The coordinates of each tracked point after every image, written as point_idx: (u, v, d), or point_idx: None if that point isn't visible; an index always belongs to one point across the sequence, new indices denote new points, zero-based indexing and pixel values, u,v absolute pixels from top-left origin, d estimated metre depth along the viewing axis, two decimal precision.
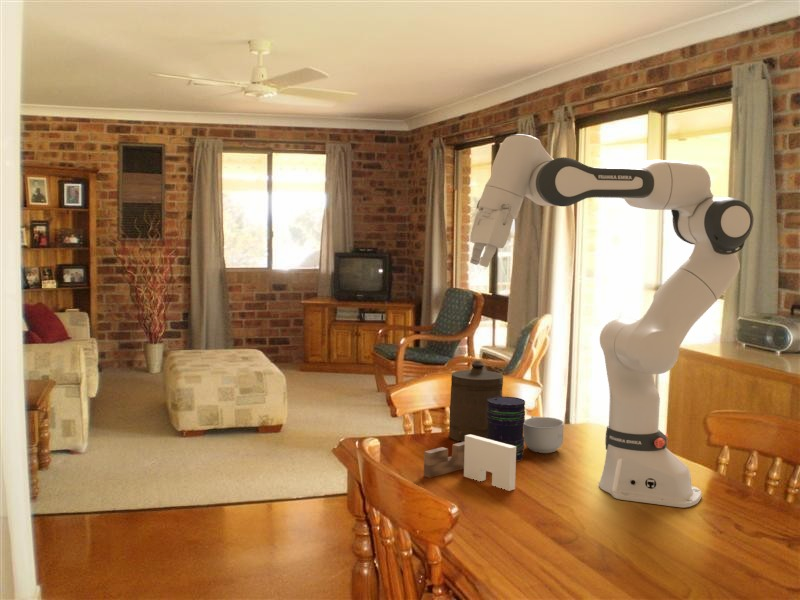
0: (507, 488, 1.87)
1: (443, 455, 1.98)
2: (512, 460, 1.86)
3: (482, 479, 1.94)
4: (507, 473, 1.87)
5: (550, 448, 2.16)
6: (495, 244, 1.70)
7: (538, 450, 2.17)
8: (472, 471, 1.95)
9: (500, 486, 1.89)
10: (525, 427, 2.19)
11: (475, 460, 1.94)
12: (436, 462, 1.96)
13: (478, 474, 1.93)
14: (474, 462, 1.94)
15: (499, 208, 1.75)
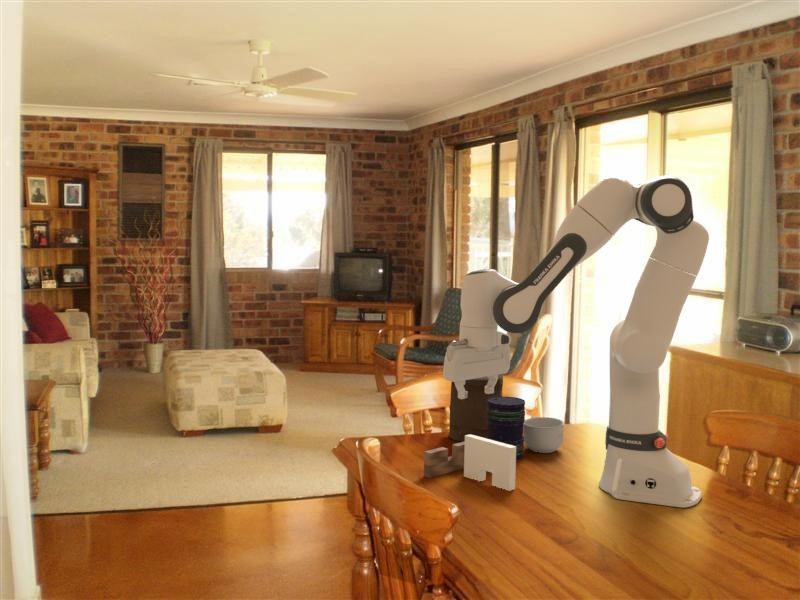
0: (507, 488, 1.87)
1: (443, 455, 1.98)
2: (512, 460, 1.86)
3: (482, 479, 1.94)
4: (507, 473, 1.87)
5: (550, 448, 2.16)
6: (447, 379, 1.87)
7: (538, 450, 2.17)
8: (472, 471, 1.95)
9: (500, 486, 1.89)
10: (525, 427, 2.19)
11: (475, 460, 1.94)
12: (436, 462, 1.96)
13: (478, 474, 1.93)
14: (474, 462, 1.94)
15: None
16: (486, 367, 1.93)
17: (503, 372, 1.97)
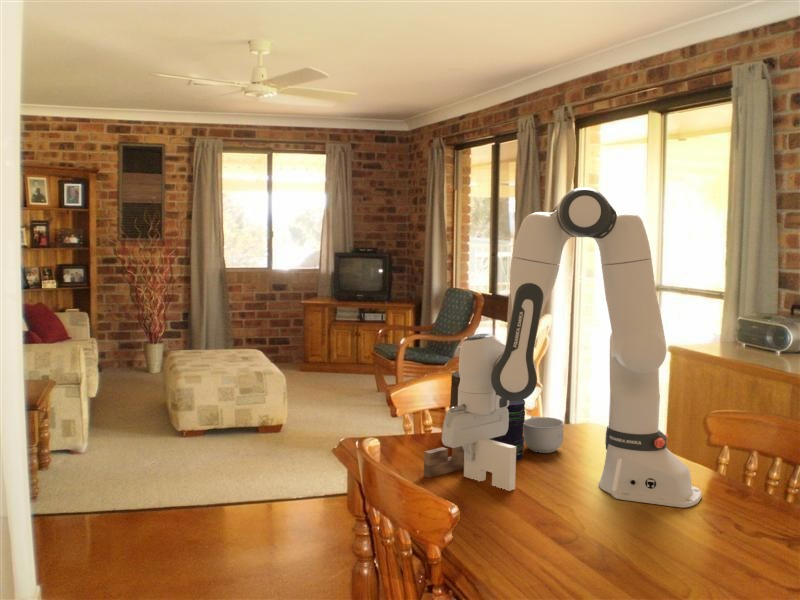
0: (507, 488, 1.87)
1: (443, 455, 1.98)
2: (512, 460, 1.86)
3: (482, 479, 1.94)
4: (507, 473, 1.87)
5: (550, 448, 2.16)
6: (446, 445, 1.88)
7: (538, 450, 2.17)
8: (472, 471, 1.95)
9: (500, 486, 1.89)
10: (525, 427, 2.19)
11: (475, 460, 1.94)
12: (436, 462, 1.96)
13: (478, 474, 1.93)
14: (474, 462, 1.94)
15: None
16: (485, 431, 1.94)
17: (501, 434, 1.99)
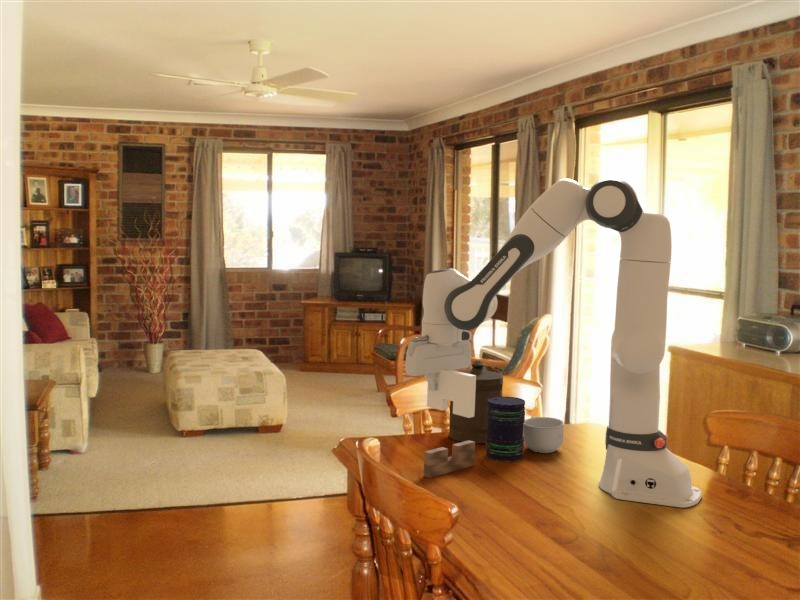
0: (467, 415, 1.95)
1: (443, 455, 1.98)
2: (471, 388, 1.94)
3: (444, 408, 2.01)
4: (467, 401, 1.94)
5: (550, 448, 2.16)
6: (409, 374, 1.96)
7: (538, 450, 2.17)
8: (434, 401, 2.02)
9: (460, 414, 1.96)
10: (525, 427, 2.19)
11: (437, 390, 2.01)
12: (436, 462, 1.96)
13: (440, 403, 2.01)
14: (436, 392, 2.02)
15: None
16: (447, 362, 2.02)
17: (464, 367, 2.06)
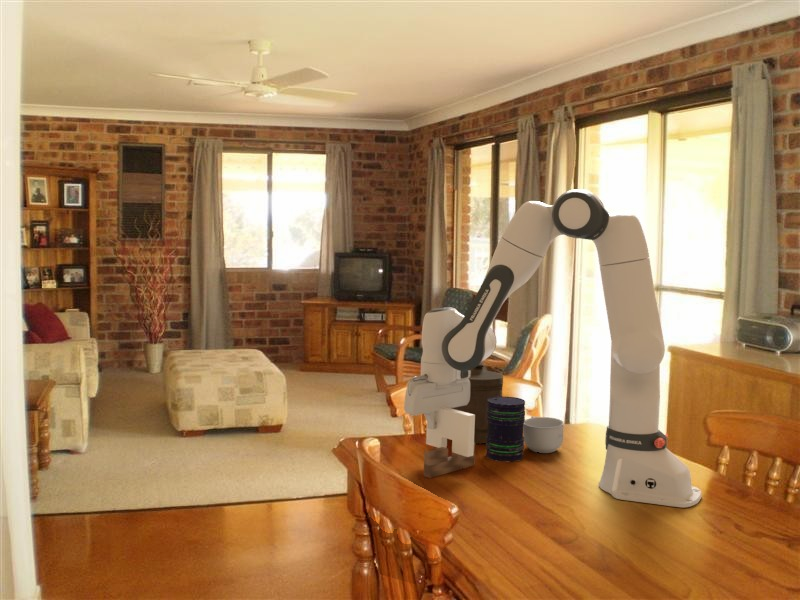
0: (466, 454, 1.95)
1: (443, 455, 1.98)
2: (470, 427, 1.95)
3: (443, 446, 2.02)
4: (466, 440, 1.95)
5: (550, 448, 2.16)
6: (408, 413, 1.97)
7: (538, 450, 2.17)
8: (434, 439, 2.03)
9: (459, 452, 1.97)
10: (525, 427, 2.19)
11: (436, 428, 2.02)
12: (436, 462, 1.96)
13: (439, 441, 2.02)
14: (435, 430, 2.02)
15: None
16: (446, 400, 2.02)
17: (463, 404, 2.07)
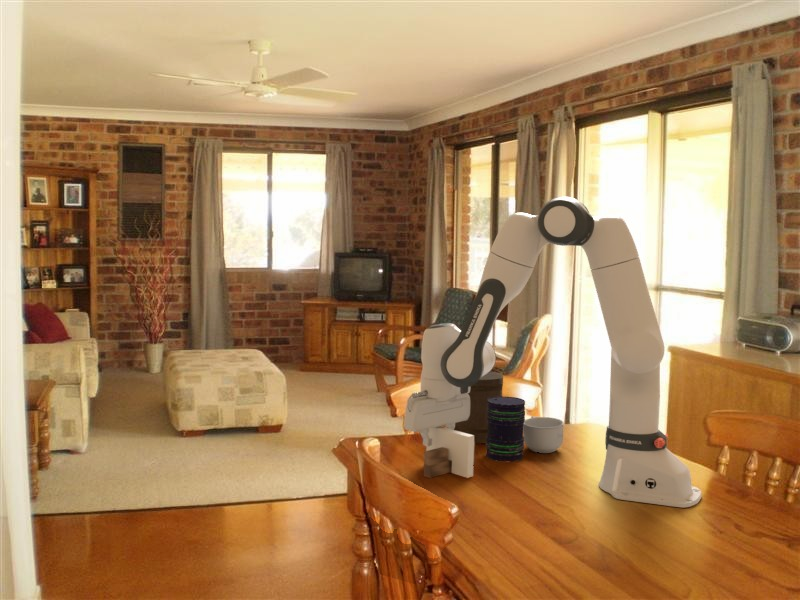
0: (465, 475, 1.96)
1: (443, 455, 1.98)
2: (470, 448, 1.95)
3: None
4: (465, 461, 1.96)
5: (550, 448, 2.16)
6: (408, 429, 1.97)
7: (538, 450, 2.17)
8: None
9: (459, 473, 1.98)
10: (525, 427, 2.19)
11: None
12: (436, 462, 1.96)
13: None
14: None
15: None
16: (446, 416, 2.03)
17: (463, 420, 2.07)
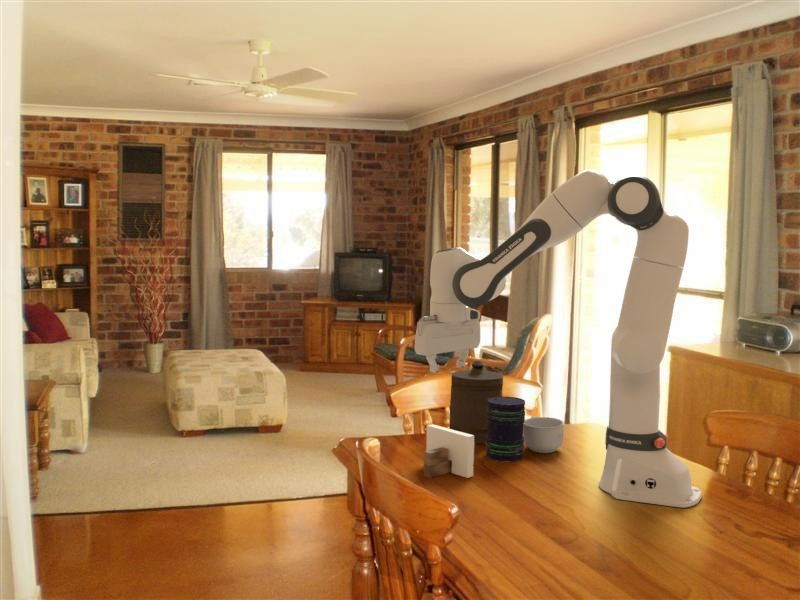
0: (465, 475, 1.96)
1: (443, 455, 1.98)
2: (470, 448, 1.95)
3: None
4: (465, 461, 1.96)
5: (550, 448, 2.16)
6: (419, 353, 1.95)
7: (538, 450, 2.17)
8: None
9: (459, 473, 1.98)
10: (525, 427, 2.19)
11: None
12: (436, 462, 1.96)
13: None
14: None
15: None
16: (456, 341, 2.01)
17: (473, 347, 2.06)
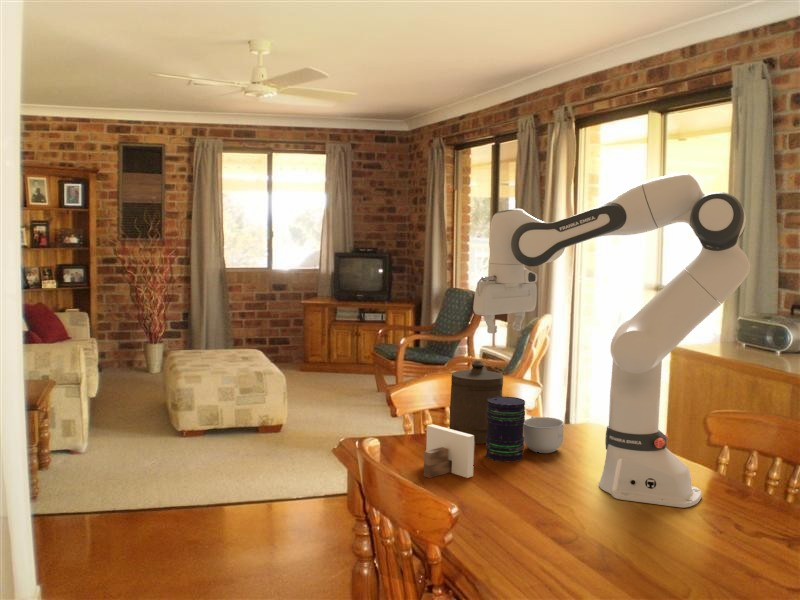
0: (465, 475, 1.96)
1: (443, 455, 1.98)
2: (470, 448, 1.95)
3: None
4: (465, 461, 1.96)
5: (550, 448, 2.16)
6: (478, 313, 1.95)
7: (538, 450, 2.17)
8: None
9: (459, 473, 1.98)
10: (525, 427, 2.19)
11: None
12: (436, 462, 1.96)
13: None
14: None
15: None
16: (514, 303, 2.01)
17: (530, 310, 2.05)
